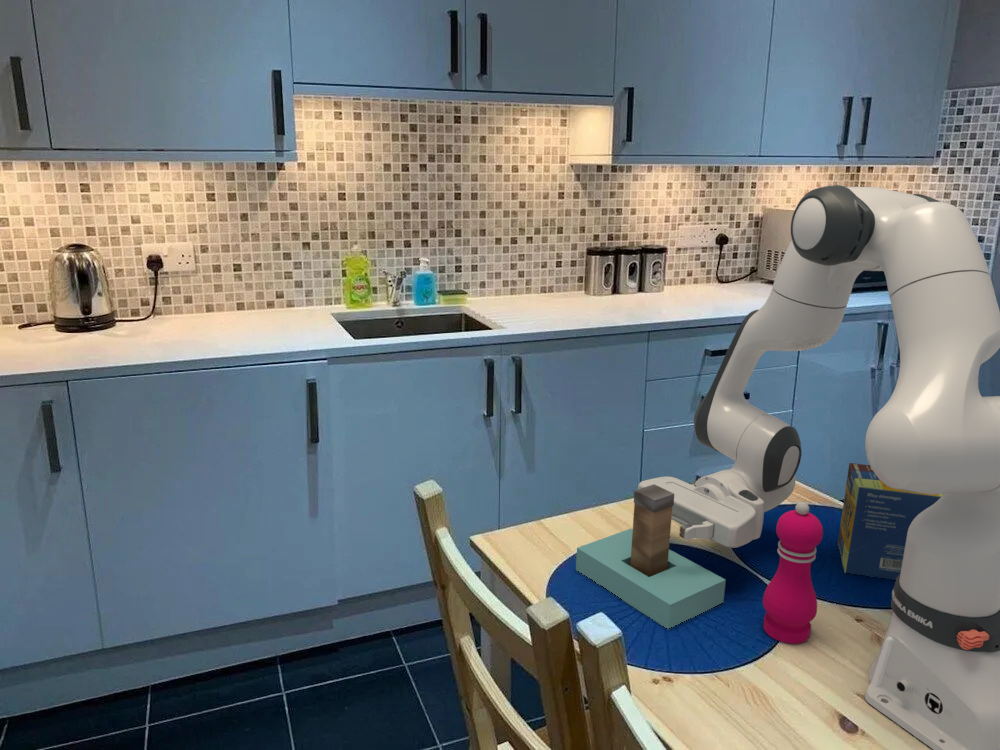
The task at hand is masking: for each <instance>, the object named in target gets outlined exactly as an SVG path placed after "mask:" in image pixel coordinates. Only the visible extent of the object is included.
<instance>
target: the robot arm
mask: <svg viewBox="0 0 1000 750" xmlns="http://www.w3.org/2000/svg"><path fill="white" fill-rule="evenodd" d="M790 221H791V222H790V236H791V237H790V238H791V240H790V242H789V244H788V246H787V248H786V250H785V253H784V254H783V257H782V259H781V262H780V264H779V266H778V269H777V273H776V274H775V278H774V281H773V283H772V284H773V285H772V287H771V291H770V292H769V296H768V298H767V299H766V300H765V302H764V304H763V305H762V307H761V308H759V309H755V310H752V311H751V312H749V313H748V314H747V315H746V316H745V317H744V319H743V320H742V321H741V323H740V325H739V326H738V328H737V330H736V332H735V334H734V336H733V338H732V340H731V342H730V345H729V346H728V348H727V351H726V353H725V355H724V357H723V359H722V361H721V363H720V366H719V368H718V370H717V373H716V374H715V377H714V379H713V381H712V384H711V386H710V387H709V390H708V391H707V393H706V394H705V396H704V398H703V399H702V401H701V402H700V403H699V404H698V406H697V408H696V409H695V413H694V415H693V428H694V432H695V436H696V438H697V440H698V442H699V443H700V444H702V445H704V446H706V447H709V449H713V450H715V451H717V452H719V453H721V454H722V455H724V456H726V457H728V458H730V459H731V460H732V461H734V464H733V466H732V467H731V468H727V469H722V470H720V471H717V472H714V473H710V474H708V475H705V476H704V475H703V476H701V477H700V478H698V479H697V480H696V481H695V483H694V484H690V483H688V482H686V481H684V480H682V479H679V478H677V477H674V476H659V477H655V478H649V479H646V480H641V481H640V482H638V483H639V484H638V487H637V490H638V489H641V488H644V487H647V486H650V485H653V484H655V485H657V486H659V487H661V488H663V489H665V490H667V491H670V492H672V493H674V505H673V506H672V518H671V521H674V522H676V523H678V524H680V525H681V526H680V527H679V533H678V534H679V537H681V538H683V539H684V540H686V541H690V540H692V539H705V540H706V539H710V540H712V541H714V542H715V543H718V544H720V545H722V546H724V547H725V548H731V549H733V548H734V549H735V548H739V547H742V546H744V545H747V544H749V543H750V542H752V541H754V540H757V539H759V538H761V535H762V531H763V525H764V515H765V513H766V512H768V511H770V510H773V509H774V508H777V507H778V506H779V505H780V504H782V503H783V502H785V501H786V500H787V499H789V497H790V496H791V495H792V494H793V492H794V491H795V490H794V489H795V487H796V473H797V471H798V470H799V465H800V464H801V461H802V460H801V459H802V444H801V443H802V442H801V438H800V435H799V433H798V431H797V429H796V428H795V427H793V426H792V425H790V424H788V423H787V422H785V421H783V420H781V419H780V418H777V417H776V416H774V415H772V414H769V413H768V412H766V411H764V410H762V409H760V408H759V407H756V406H755V405H752V404H750V402H748V401H747V399H746V398H745V395H744V393H745V390H746V387H747V385H748V383H749V381H750V378H751V376H752V374H753V373H754V370H755V369H756V366H757V364H758V362H759V360H760V358H761V357H762V355H764V354H765V353H766V352H769V351H772V352H775V351H776V352H799V351H802V352H803V351H807V350H812V349H815V348H818V347H820V346H822V345H824V344H827V342H829V341H830V340H832V338H833V337H834V336H835V335H836V334H837V331H838V330H839V328H840V327H841V324H842V322H843V319H844V316H845V314H846V310H847V307H848V304H849V300H850V296H851V295H852V291H853V287H854V283H855V282H856V279H857V278H858V276H859V275H860V274H861V273H863V272H864V271H867V272H868V271H869V272H884V273H883V274H884V276H885V281H886V286H887V291H888V296H889V297H888V298H889V300H890V304H891V308H892V309H891V310H892V315H893V318H894V324H895V330H896V336H897V341H898V348H899V361H900V362H899V371H898V377H897V380H896V385H895V388H894V390H893V392H892V393H891V396H890V397H889V399H888V401H887V402H886V403H885V405H884V406H882V408H881V409H880V410H878V411H877V413H875V415H874V416H873V418H872V419H871V421H870V423H869V425H868V427H867V431H866V434H865V441H864V443H865V444H864V448H865V454H866V459H867V462H868V465H870V466H871V468H872V470H873V471H874V473H875V474H876V476H877V477H878V478H879V479H880V480H881V481H882V482H883V483H884V484H886V485H887V486H889V487H891V488H895V489H900V490H905V491H911V492H918V493H925V494H943V496H942V497H941V498H940V499H939V500H938V501H937V502H935V503H934V504H933V505H931V506H930V507H928V508H927V509H925V510H924V511H922V512H921V513H920V514H918V515H917V516H916V517H915V518H914V520H913V521H912V522H911V524H910V526H909V529H908V533H907V538H906V544H905V550H904V556H903V561H902V567H901V573H900V575H898V576H897V578H896V581H895V582H894V586H893V589H892V591H891V601H890V607H891V610H892V613H891V617H890V621H889V623H888V627H887V629H886V633H885V634H884V638H883V641H882V643H881V646H880V649H879V651H878V653H877V655H876V657H875V659H874V660H873V662H872V664H871V665H870V667H869V669H868V679H869V685H868V687H867V688H866V690H865V695H864V698H865V701H866V702H867V703H868V704H870V705H871V706H872V707H873V708H875V709H876V710H878V712H881V713H882V714H883V715H884V716H886V717H887V718H888V719H890V720H892V722H894V723H896V724H897V725H898V726H900V727H901V728H903V729H904V730H906V731H907V732H908V733H909V734H911V735H913V736H914V737H915V738H917V739H918V740H920V741H921V742H922V743H924V744H925V745H927V747H930V749H931V750H1000V395H994V396H982V395H981V393H980V389H979V373H980V368H981V365H982V364H984V363H985V362H987V361H988V360H989V359H991V358H992V357H993V356H994V355H995V354H996V353H997V352H998V351H999V349H1000V308H999V304H998V300H997V296H996V292H995V290H994V285H993V282H992V277H991V274H990V271H989V267H988V264H987V260H986V258H985V256H984V255H985V254H984V253H983V250H982V248H981V245H980V243H979V241H978V238H977V235H976V234H975V232H974V229H973V228H972V226H971V224H970V222H969V220H968V219H967V216H966V215H965V214H964V213H963V211H962V210H961V209H960V208H958V207H957V206H956V205H953V204H951V203H947V202H943V201H940V200H938V199H936V198H933V197H930V196H928V195H925V194H923V193H922V194H920V193H913V194H912V193H907V192H903V191H897V190H891V189H886V188H884V187H878V186H843V185H841V184H836V185H835V184H834V185H827V186H821V187H818V188H813V189H811V190H810V191H808V192H806V194H805V195H804V196H803V197H801V199H800V200H799V202H798V203H797V205H796V207H795V209H794V211H793V214H792V217H791V220H790Z"/></svg>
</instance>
